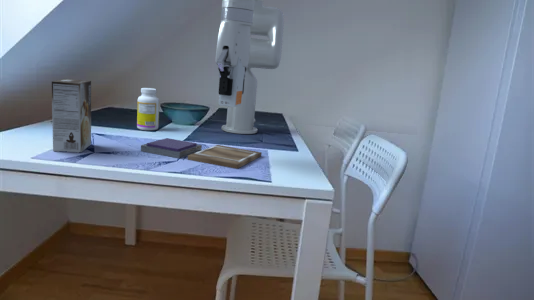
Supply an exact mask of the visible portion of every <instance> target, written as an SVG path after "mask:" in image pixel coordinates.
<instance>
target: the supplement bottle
mask: <svg viewBox="0 0 534 300" xmlns="http://www.w3.org/2000/svg"><path fill="white" fill-rule="evenodd" d="M140 92H141V95H139V96H138V98H137V101H136V102H137V103H136V104H137V110H136V112H137V113H136V115H137V116H136V128H137V129H138V130H142V131H156V130H159V125H160V124H159V123H160V120H159V119H160V98H158V97H157V95H156V94H157V89H156V88H153V87H142V88H140Z"/></svg>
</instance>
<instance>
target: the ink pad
mask: <svg viewBox="0 0 534 300" xmlns="http://www.w3.org/2000/svg"><path fill="white" fill-rule="evenodd" d="M202 147H203V146H202V144H198V143H197V142H192V141H191V142H190V141H186V140H180V139H174V138H167V137H166V138H162V139H158V140H155V141H150V142H147V143H143V144H140V152H142V153H148V154H155V155H158V156H159V155H160V156H164V157H170V158H176V159H181V158H182V159H183V158H184V157H188V155H190V154H193V153H196V152H199V151H202Z"/></svg>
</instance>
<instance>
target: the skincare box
mask: <svg viewBox="0 0 534 300" xmlns="http://www.w3.org/2000/svg"><path fill="white" fill-rule="evenodd" d="M225 64H229V65H231V64H230V63H227V62H225ZM244 68H245V67H243V66H242V62H241V58H240V57H238V62H237V66H236V67H234V69H233V73H232V77H231V79H233V84H232V95H231V96H227V95H219V94H218V106H221V107H227V108H228V107H236V106H241V101H242V90H243V79H244ZM228 72H229V69H228Z"/></svg>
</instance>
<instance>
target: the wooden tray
mask: <svg viewBox="0 0 534 300" xmlns="http://www.w3.org/2000/svg"><path fill="white" fill-rule="evenodd" d="M262 154H263V153H262V152H260V151H255V150H250V149H243V148H239V147H234V146H233V147H232V146H225V145H220V144H216V145H213V146H210V147H208V148H205V149H201V151H199V152H196V153H193V154H190V155H188V156H187V160H188V161H194V162H200V163H205V164H210V165H214V166H215V165H216V166H221V167H227V168H231V169H236V170H237V169H239V168H241V167H243V166H245V165H247V164H249V163H251V162H254V161H256V159H259V158H260V157H262Z"/></svg>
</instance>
